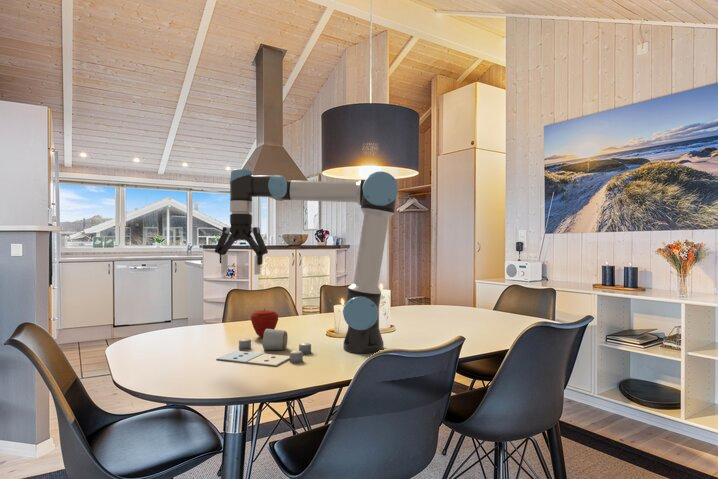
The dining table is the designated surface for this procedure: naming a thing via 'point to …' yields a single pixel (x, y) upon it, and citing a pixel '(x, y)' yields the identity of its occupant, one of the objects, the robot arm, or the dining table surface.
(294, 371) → the dining table surface
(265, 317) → the apple
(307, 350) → the tealight
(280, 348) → the grey cylinder
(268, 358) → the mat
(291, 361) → the tealight
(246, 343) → the tealight
